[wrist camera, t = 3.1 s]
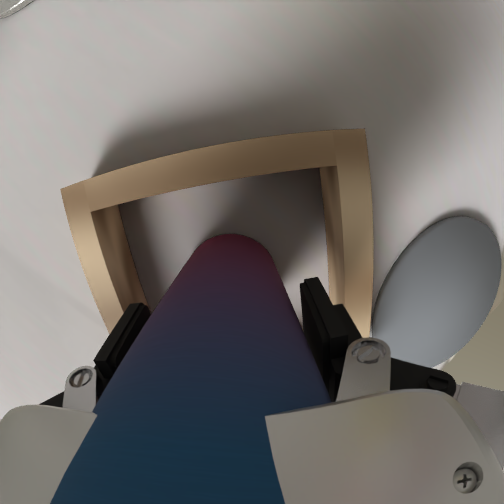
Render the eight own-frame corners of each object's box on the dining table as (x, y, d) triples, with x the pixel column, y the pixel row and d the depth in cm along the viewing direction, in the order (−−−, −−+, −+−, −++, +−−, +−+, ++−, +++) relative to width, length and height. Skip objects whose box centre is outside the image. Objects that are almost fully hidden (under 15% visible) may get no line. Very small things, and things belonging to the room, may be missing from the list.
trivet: (374, 228, 15) (379, 231, 14) (505, 209, 14) (509, 210, 14) (364, 384, 19) (366, 389, 19) (478, 341, 19) (481, 344, 18)
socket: (90, 181, 13) (60, 189, 11) (341, 132, 13) (364, 128, 10) (157, 373, 18) (147, 403, 15) (350, 349, 18) (364, 377, 15)
